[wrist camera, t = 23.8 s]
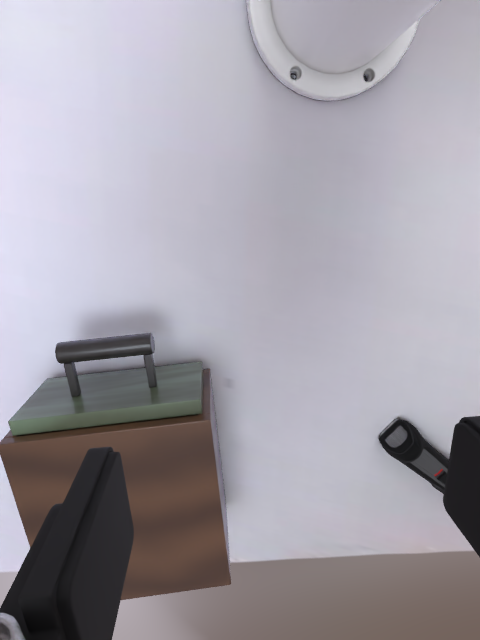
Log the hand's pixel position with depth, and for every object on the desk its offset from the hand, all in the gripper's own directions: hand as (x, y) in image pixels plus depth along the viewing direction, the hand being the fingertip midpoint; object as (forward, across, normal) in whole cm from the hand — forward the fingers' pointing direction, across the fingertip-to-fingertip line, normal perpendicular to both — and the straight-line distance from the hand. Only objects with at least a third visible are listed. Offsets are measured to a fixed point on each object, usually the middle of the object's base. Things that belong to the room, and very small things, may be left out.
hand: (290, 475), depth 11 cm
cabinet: (+24, +10, +16) cm, 30 cm away
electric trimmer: (+24, -20, +21) cm, 38 cm away
